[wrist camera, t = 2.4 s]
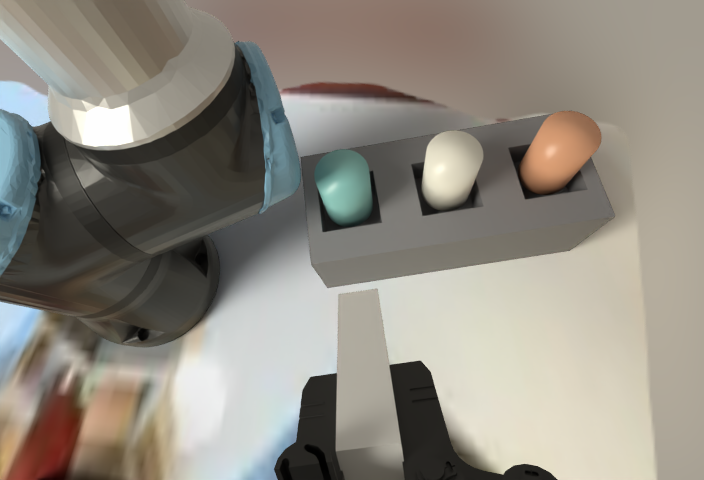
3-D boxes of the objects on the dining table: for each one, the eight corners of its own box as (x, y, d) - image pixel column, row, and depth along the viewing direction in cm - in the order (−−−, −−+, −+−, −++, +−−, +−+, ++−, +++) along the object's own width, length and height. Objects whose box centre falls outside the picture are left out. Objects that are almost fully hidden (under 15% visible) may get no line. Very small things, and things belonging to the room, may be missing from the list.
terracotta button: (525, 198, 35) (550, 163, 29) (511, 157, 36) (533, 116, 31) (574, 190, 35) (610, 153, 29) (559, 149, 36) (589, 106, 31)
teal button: (329, 230, 36) (317, 202, 30) (324, 188, 37) (311, 154, 32) (376, 222, 35) (372, 192, 30) (369, 181, 37) (364, 145, 31)
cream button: (426, 214, 35) (432, 183, 30) (416, 173, 37) (421, 135, 31) (474, 207, 35) (489, 173, 29) (463, 165, 37) (475, 126, 31)
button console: (327, 288, 42) (311, 264, 34) (317, 198, 46) (300, 157, 37) (569, 250, 41) (615, 216, 32) (538, 161, 45) (571, 110, 36)
